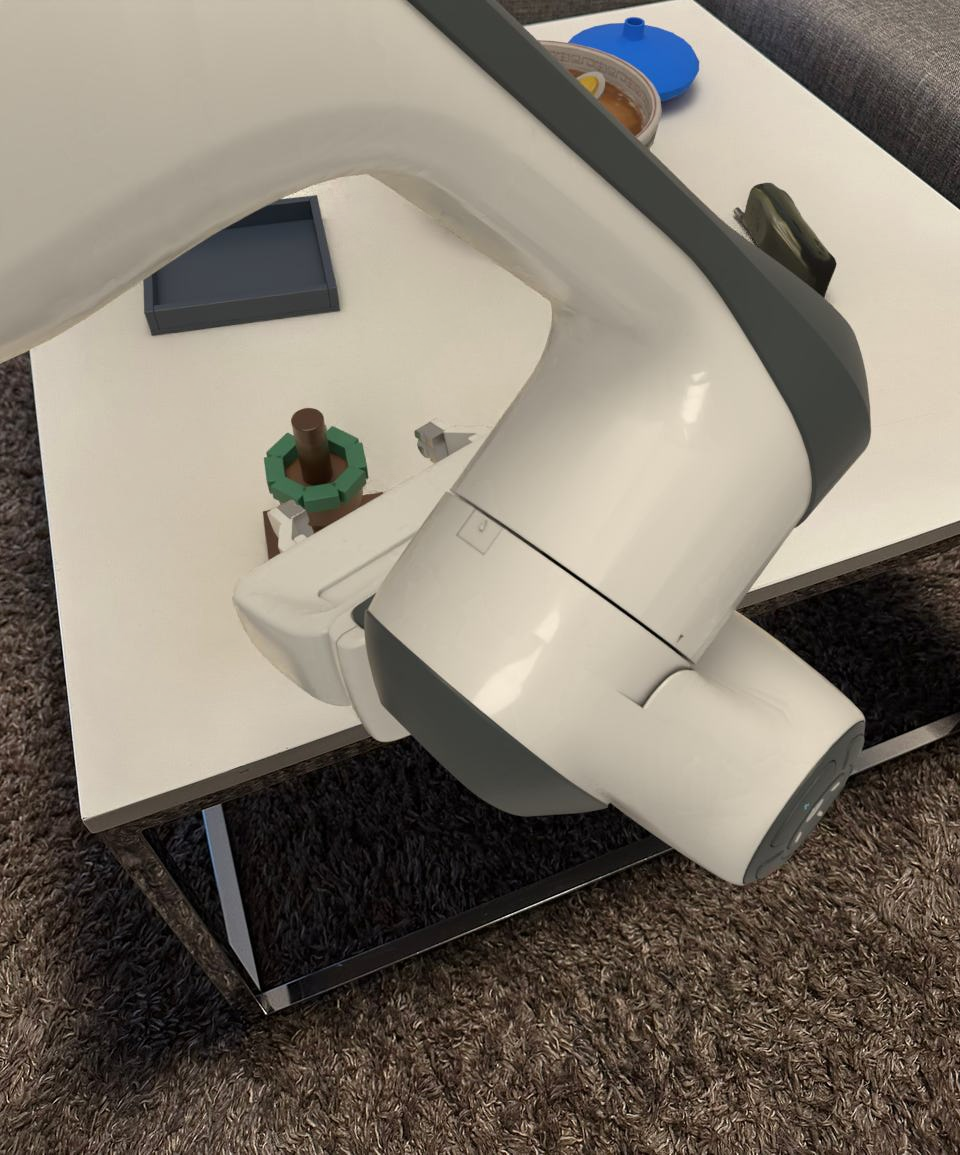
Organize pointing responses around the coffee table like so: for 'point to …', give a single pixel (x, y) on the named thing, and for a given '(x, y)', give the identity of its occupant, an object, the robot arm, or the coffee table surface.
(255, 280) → the tray
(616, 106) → the bowl
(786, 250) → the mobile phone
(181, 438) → the coffee table surface
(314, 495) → the ring
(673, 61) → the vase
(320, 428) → the peg stand
